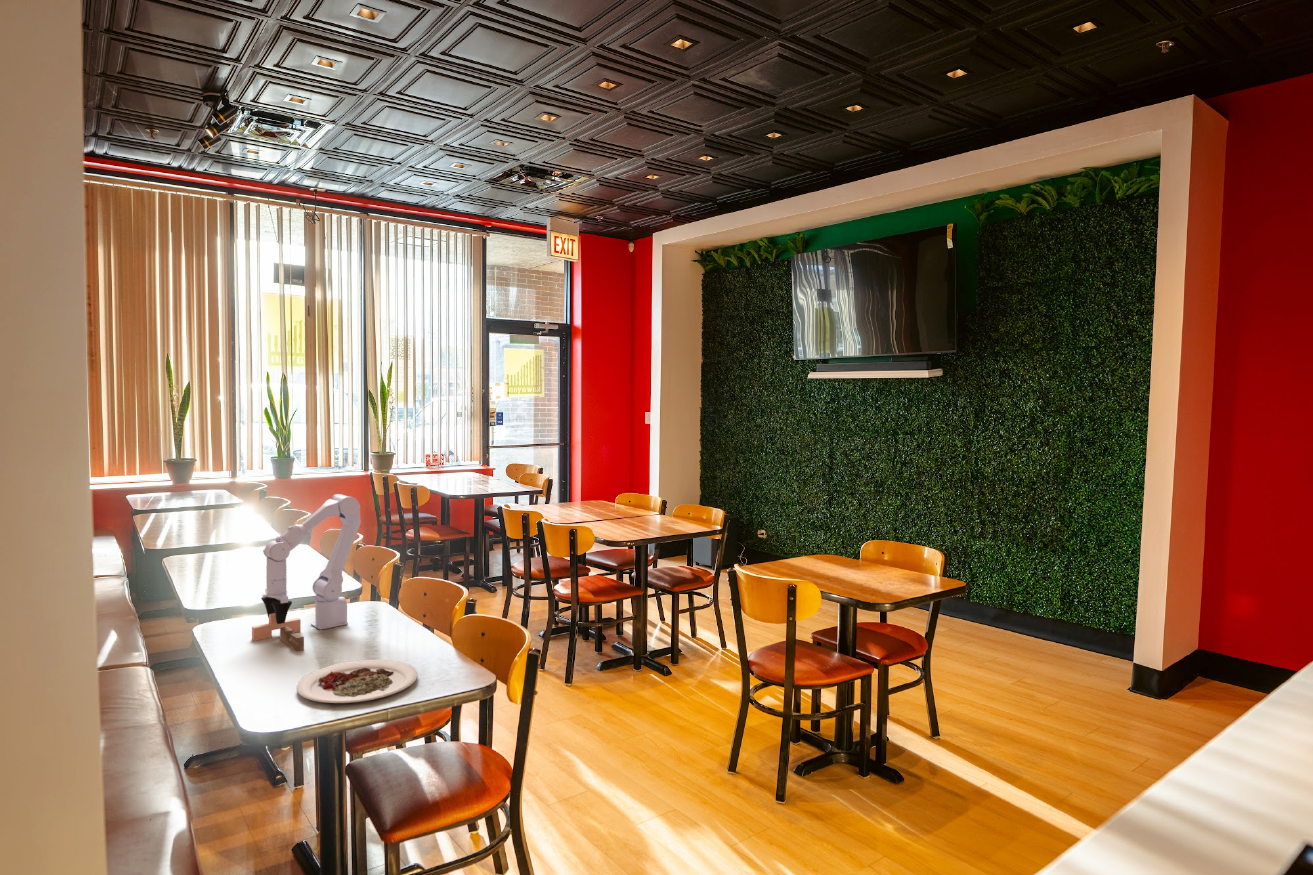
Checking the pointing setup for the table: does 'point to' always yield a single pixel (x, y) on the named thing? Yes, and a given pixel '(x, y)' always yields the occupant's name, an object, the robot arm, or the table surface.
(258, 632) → the salmon stepped block
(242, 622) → the table surface
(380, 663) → the plated food
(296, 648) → the walnut notched bar
